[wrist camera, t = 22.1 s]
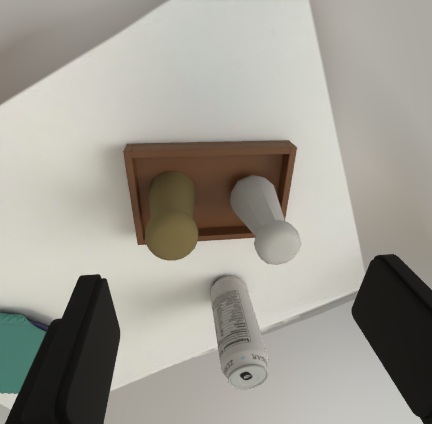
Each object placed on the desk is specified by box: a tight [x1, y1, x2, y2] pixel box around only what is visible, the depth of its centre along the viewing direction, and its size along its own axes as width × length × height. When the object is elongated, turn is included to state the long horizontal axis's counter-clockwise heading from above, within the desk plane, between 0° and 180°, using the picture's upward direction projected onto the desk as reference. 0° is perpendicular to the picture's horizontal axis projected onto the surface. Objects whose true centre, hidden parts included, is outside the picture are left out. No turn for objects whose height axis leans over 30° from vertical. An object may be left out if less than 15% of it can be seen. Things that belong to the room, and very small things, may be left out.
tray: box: [124, 141, 297, 245], centre depth 36 cm, size 20×13×3 cm, turn 89°
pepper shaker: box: [145, 171, 198, 260], centre depth 31 cm, size 6×6×11 cm
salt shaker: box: [230, 175, 301, 265], centre depth 31 cm, size 6×6×13 cm
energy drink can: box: [210, 276, 268, 390], centre depth 40 cm, size 6×6×15 cm
